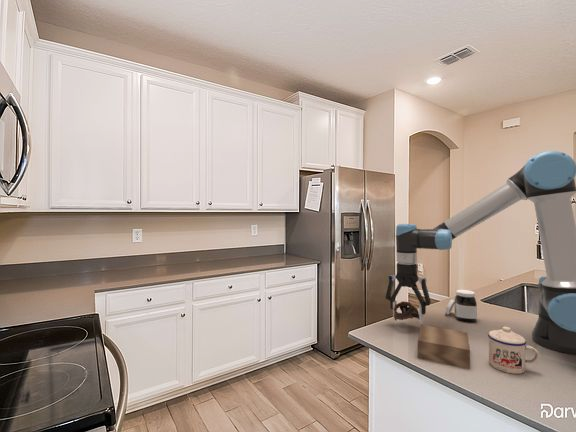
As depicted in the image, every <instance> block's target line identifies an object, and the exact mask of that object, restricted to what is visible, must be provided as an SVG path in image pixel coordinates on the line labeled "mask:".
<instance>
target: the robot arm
mask: <svg viewBox="0 0 576 432" xmlns="http://www.w3.org/2000/svg"><path fill="white" fill-rule="evenodd" d="M575 177H576V162H575V160H574V159H573V158H572V157H571V156H570V155H569V154H567V153H565V152H562V151H558V150H547V151H544V152H540V153H537V154H535V155H533V156H531V157H530V158H528V160H527V161H526V163H525V164H524V165H523V166H522V167H521V168H520V170H518V171H516V173H514V174H513V175H511V176H510V177H508V178H507V179H506V182H505V183H504V184H503V185H501V186H500V187H498V188H496V189H494V190H493V191H492V192H490V193H488V194H486V195H485V196H483V197H482V198H480V199H479V200H477V201H475V202H473V204H471V205H469V206H467V207H465V209H463V210H461V211H459V212H458V213H456V214H454V215H453V216H452V217H450V218H448V219H447V220H445V221H443V222H442V223H440V224H439V225H437V226H435V227H434V228H430V229H429V228H424V229H423V228H422V229H421V228H418V227H417V224H415V223H399V224H397V225H396V227H395V228H396V230H395V242H396V244H395V246H396V247H395V248H396V262H397V263H396V274H394V275H393V274H390V275H389V276H388V286H387V288H386V289H387V290H386V293H385V299H386V300H388V301H389V302H390V309H391V310H392V319H394V320H395V318H394V307H395V306H396V305H397V304H398V303H397V300H396V297H397V296H398V294H399V293H400V291H401V290H402V287H404V288H405V287H407V288H411V289H412V290H413V293H414V294H415V296H416V298H417V300H418V302H419V305H418V313H419V319H418V320H419V324H423V322H424V315H426V314H427V309H426V308H427V306H430V304H432V302H431V297H430V294H429V289H428V287H427V278H426V277H423V278H421V277H419V275H418V264H417V263H418V249H423V250H424V249H425V250H440V251H443V250H451V249H452V246H453V240H454V239H456V238H457V237H459V236H461V235H463V234H464V233H466V232H467V231H470V230H471V229H473V228H475V227H476V226H479V225H480V224H482V223H484V222H485V221H487V220H488V219H489V220H490V218H492V217H494V216H495V215H498V214H499V213H501V212H502V211H505V210H506V209H508V208H510V207H511V206H513V205H514V204H516V203H518V202H519V201H521V200H523V201H527V200H529V201H531V202H532V203H534V209H535V215H536V216H535V217H536V221H537V226H538V227H537V228H538V234H539V240H540V244H541V250H542V251H541V252H542V257H543V262H544V267H545V275H546V276H541V277H539V279H538V283H537V286H538V318H537V321H536V323H535V325H534V327H533V330H532V331H531V339H532V341H534V343H536V344H537V345H540V346H542V347H544V348H547V349H549V350H553V351H557V352H559V353H560V352H561V353H565V354H571V355H576V222H575V215H574V210H573V209H574V208H573V204H572V198H573V196H574V195H575V194H576V182H575ZM395 280H397V282H398V283H397V286H396V288H395V290H394V291H393V287H394V284H395V283H394V282H395ZM418 282H419V285H420V286H421V289H422V293H423V295H422V293H421V291H420V289H419V287H418V285H417V283H418ZM392 291H393V294H392ZM423 296H424V297H423ZM396 312H398V309H397V310H396Z"/></svg>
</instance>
